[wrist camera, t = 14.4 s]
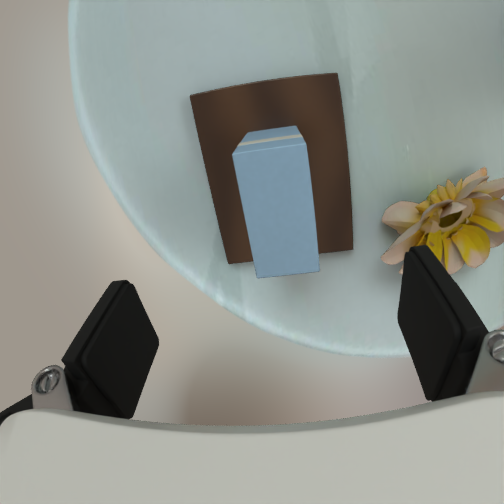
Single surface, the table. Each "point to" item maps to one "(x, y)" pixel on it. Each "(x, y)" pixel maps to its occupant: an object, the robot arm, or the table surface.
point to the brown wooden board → (269, 117)
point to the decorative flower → (451, 222)
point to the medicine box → (277, 201)
